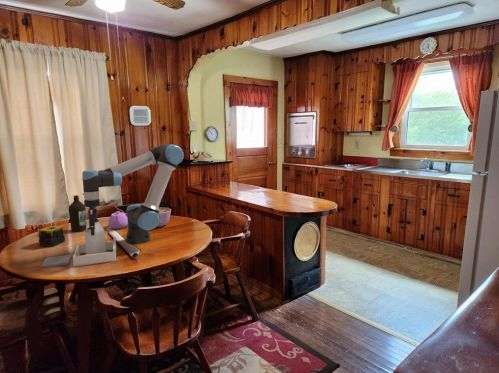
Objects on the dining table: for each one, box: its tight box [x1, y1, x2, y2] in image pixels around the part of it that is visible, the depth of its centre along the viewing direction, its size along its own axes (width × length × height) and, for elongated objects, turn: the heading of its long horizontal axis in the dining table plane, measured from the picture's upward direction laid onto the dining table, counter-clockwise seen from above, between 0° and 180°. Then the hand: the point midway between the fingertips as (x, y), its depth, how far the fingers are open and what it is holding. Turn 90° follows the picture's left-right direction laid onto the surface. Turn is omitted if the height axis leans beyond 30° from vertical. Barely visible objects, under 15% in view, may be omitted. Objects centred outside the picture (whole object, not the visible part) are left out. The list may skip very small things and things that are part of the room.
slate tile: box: [40, 254, 72, 269], centre depth 170 cm, size 12×12×1 cm
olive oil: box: [68, 194, 88, 233], centre depth 223 cm, size 11×11×25 cm
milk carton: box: [83, 221, 107, 255], centre depth 175 cm, size 7×7×19 cm
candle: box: [37, 225, 66, 248], centre depth 197 cm, size 10×10×10 cm
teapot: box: [108, 210, 128, 230], centre depth 231 cm, size 20×13×12 cm, turn 17°
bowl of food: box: [155, 206, 172, 228], centre depth 236 cm, size 20×20×12 cm
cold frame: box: [72, 236, 117, 267], centre depth 176 cm, size 20×20×7 cm
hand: (94, 237), depth 175 cm, fingers open, 13 cm apart
